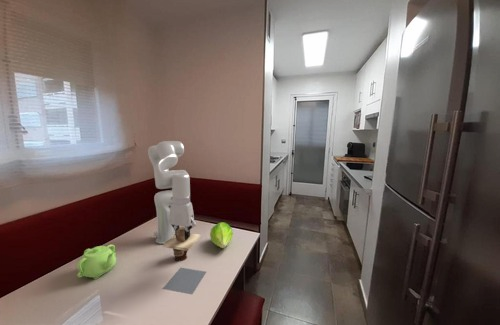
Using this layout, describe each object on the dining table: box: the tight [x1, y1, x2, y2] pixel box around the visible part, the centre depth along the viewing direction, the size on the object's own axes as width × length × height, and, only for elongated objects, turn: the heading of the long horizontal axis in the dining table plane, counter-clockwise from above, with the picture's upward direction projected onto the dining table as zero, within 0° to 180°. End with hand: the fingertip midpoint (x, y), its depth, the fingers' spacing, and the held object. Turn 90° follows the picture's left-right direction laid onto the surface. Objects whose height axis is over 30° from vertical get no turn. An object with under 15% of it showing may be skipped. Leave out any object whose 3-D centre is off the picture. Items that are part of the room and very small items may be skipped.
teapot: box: [76, 244, 117, 280], centre depth 95 cm, size 16×14×13 cm
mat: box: [162, 267, 207, 295], centre depth 90 cm, size 14×14×1 cm
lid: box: [162, 226, 201, 252], centre depth 92 cm, size 12×12×6 cm
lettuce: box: [209, 221, 234, 249], centre depth 118 cm, size 14×20×12 cm
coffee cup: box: [172, 249, 188, 262], centre depth 105 cm, size 9×8×13 cm
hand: (182, 237), depth 92 cm, fingers closed on lid, 4 cm apart
